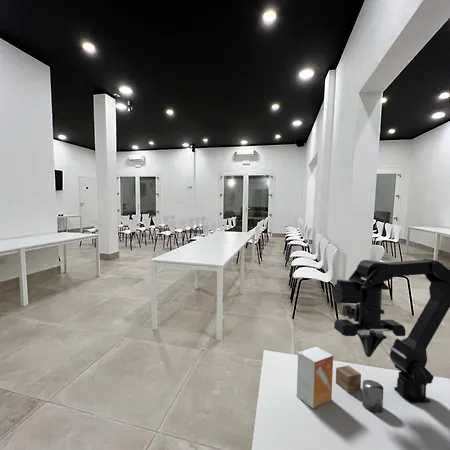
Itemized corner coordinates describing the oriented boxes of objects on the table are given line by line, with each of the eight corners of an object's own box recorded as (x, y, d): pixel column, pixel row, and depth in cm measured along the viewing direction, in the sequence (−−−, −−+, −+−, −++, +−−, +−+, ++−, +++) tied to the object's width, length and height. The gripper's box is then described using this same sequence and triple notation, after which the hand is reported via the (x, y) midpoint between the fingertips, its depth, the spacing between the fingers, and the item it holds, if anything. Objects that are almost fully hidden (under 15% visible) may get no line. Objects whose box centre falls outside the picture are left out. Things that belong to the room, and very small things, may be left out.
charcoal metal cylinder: (375, 400, 75) (375, 379, 75) (387, 412, 70) (387, 391, 70) (358, 400, 75) (359, 380, 75) (369, 413, 70) (370, 391, 70)
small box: (313, 409, 71) (314, 362, 70) (295, 395, 76) (297, 351, 76) (332, 399, 75) (333, 355, 75) (314, 387, 80) (315, 345, 80)
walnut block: (347, 380, 84) (348, 365, 84) (360, 390, 80) (361, 373, 80) (335, 383, 83) (336, 367, 83) (347, 393, 78) (348, 376, 78)
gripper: (381, 296, 85) (379, 343, 85) (326, 295, 83) (324, 343, 84) (408, 307, 74) (405, 361, 74) (345, 306, 72) (343, 362, 72)
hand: (368, 356), depth 76 cm, fingers closed
